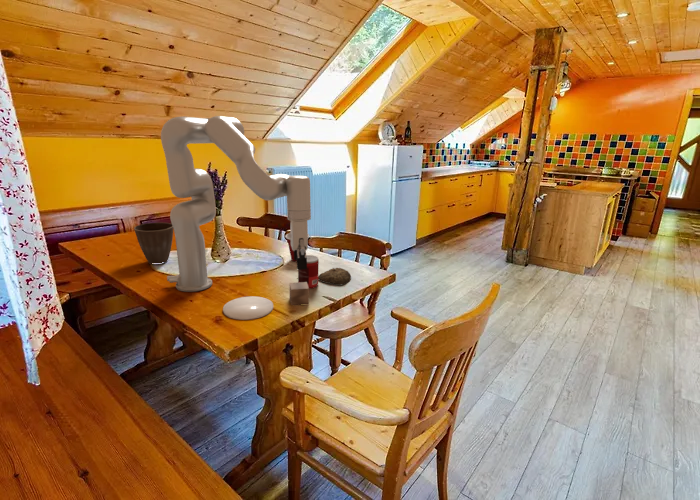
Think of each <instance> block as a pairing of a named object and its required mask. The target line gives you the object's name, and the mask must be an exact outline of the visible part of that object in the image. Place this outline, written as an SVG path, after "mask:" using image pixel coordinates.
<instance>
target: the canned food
mask: <svg viewBox="0 0 700 500" xmlns="http://www.w3.org/2000/svg"><path fill="white" fill-rule="evenodd" d="M306 257H307V269H302V270H298V269H297V271H298V273H297V278H298V280H297V281H298V282H307V284H308V287H309V290H312V289H315V288H317V287H318V285H319V279H318V276H319V267H320V266H319V265H320V264H319V263H320V262H319V257H318V256H315V255H310V254H309V255H308V254H306Z"/></svg>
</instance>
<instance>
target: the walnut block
mask: <svg viewBox="0 0 700 500" xmlns="http://www.w3.org/2000/svg"><path fill="white" fill-rule="evenodd" d="M289 301H290V305H294V306H302V305H301V304H309V305H310V289H309V287H308V284H307V282H289Z"/></svg>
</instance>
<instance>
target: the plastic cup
mask: <svg viewBox="0 0 700 500" xmlns="http://www.w3.org/2000/svg"><path fill="white" fill-rule="evenodd" d="M309 238H310V234H309V233H308V239H309ZM285 240H286V241H287V244H288V250H289V254H290V259H291V261H292V262H296V263H297V260H294V251H293V250H292V247H291V233H290V232H289V233H287V234H285Z"/></svg>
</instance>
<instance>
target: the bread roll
mask: <svg viewBox="0 0 700 500" xmlns="http://www.w3.org/2000/svg"><path fill="white" fill-rule="evenodd" d="M351 279H352V276H351V273H350V272H349V271H348V270H346V269H344V268H341V267H333V268H330V269H328V270H326V271H324V272H322V273H320V274H318V281H320V282H323V283H327V284H330V285H335V286H342V285H346V284H347V283H349V282H350V281H351Z"/></svg>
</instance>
